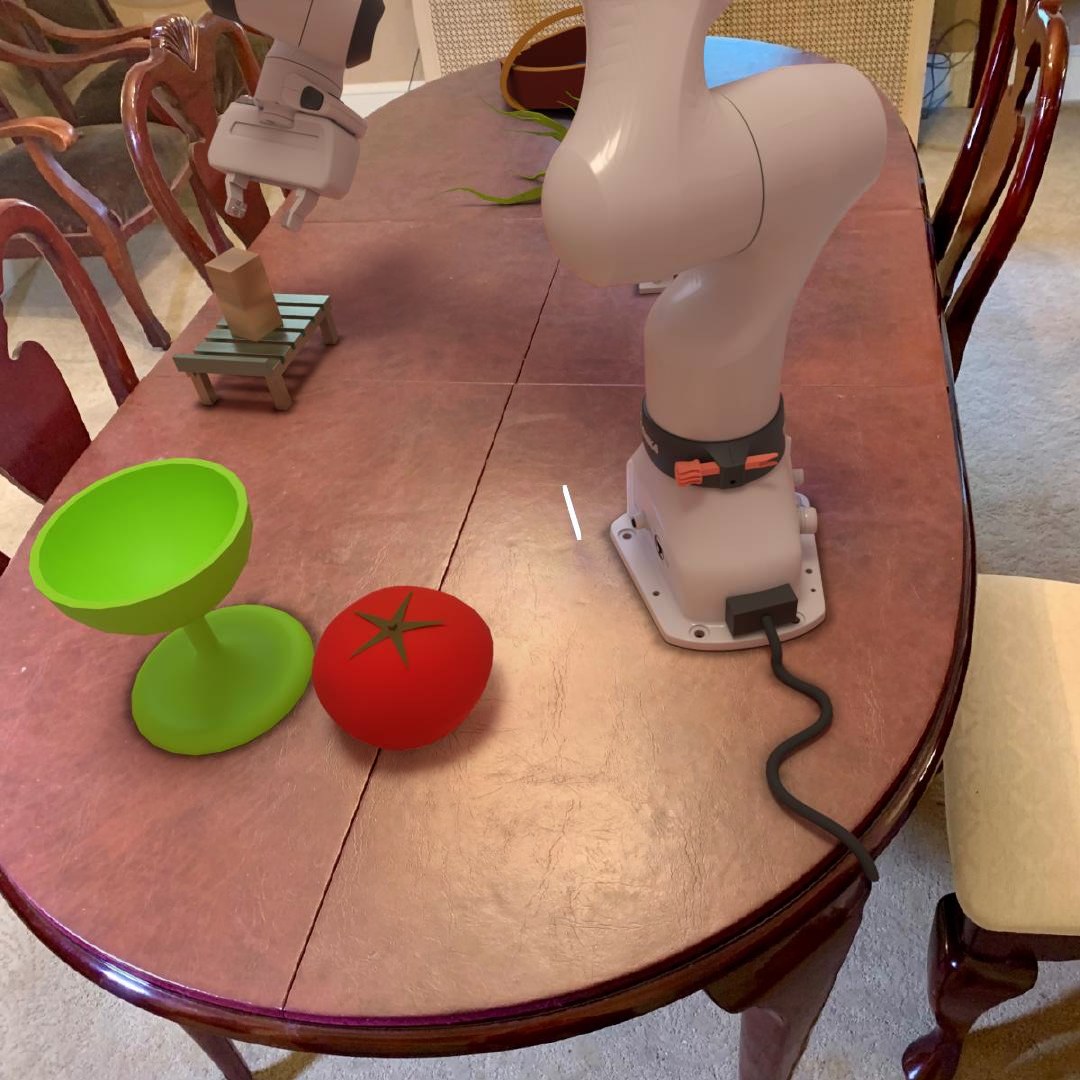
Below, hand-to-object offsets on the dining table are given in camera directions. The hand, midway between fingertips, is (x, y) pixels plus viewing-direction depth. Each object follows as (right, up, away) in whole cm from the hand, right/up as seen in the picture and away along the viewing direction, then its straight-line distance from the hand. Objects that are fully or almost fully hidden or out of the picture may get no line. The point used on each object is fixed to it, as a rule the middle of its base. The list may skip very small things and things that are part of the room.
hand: (260, 222), depth 108 cm
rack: (-1, -15, +9) cm, 18 cm away
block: (-2, -11, +5) cm, 12 cm away
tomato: (+22, -50, -30) cm, 62 cm away
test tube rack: (+48, +4, +21) cm, 52 cm away
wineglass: (+4, -48, -26) cm, 55 cm away
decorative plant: (+33, +16, +35) cm, 51 cm away
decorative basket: (+42, +45, +64) cm, 89 cm away
